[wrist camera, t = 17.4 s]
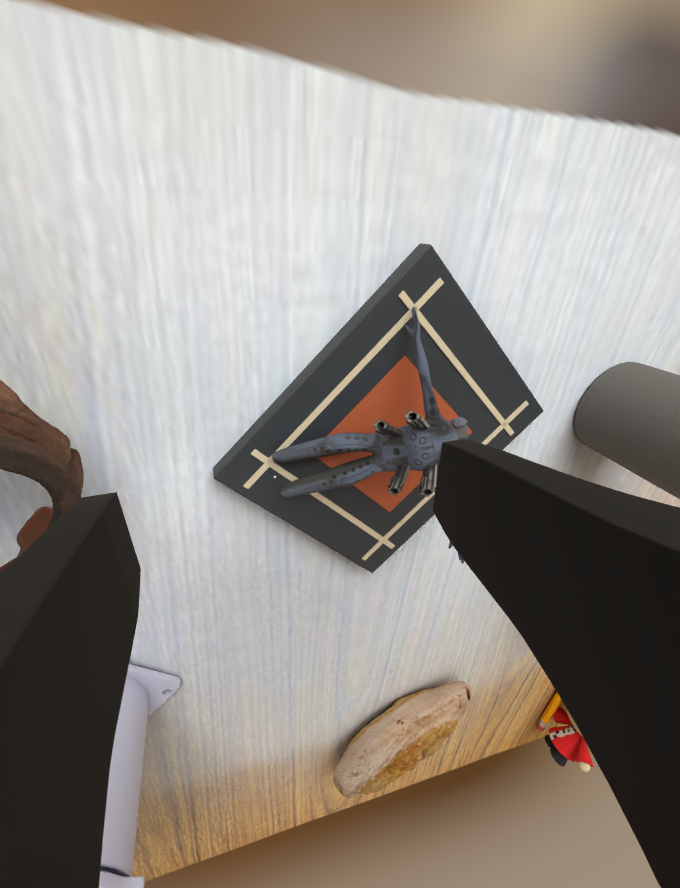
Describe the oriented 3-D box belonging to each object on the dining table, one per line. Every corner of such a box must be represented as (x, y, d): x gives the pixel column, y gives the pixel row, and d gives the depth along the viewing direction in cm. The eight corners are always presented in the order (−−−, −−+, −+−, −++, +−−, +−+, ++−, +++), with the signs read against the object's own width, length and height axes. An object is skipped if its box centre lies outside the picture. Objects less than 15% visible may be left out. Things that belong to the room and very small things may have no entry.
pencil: (535, 725, 47) (539, 731, 46) (602, 614, 39) (608, 620, 38) (540, 723, 47) (544, 729, 47) (608, 612, 39) (614, 618, 39)
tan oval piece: (467, 679, 37) (496, 729, 33) (340, 764, 37) (356, 823, 34) (446, 656, 34) (476, 708, 31) (310, 749, 35) (323, 811, 31)
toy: (515, 708, 47) (607, 622, 42) (561, 725, 48) (654, 644, 44) (547, 780, 40) (661, 687, 35) (599, 797, 42) (714, 710, 37)
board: (366, 562, 26) (373, 574, 25) (212, 467, 20) (213, 479, 19) (532, 404, 24) (545, 411, 23) (420, 242, 18) (432, 243, 17)
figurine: (298, 622, 17) (309, 567, 22) (522, 578, 17) (481, 532, 22) (225, 341, 16) (255, 352, 21) (472, 283, 15) (440, 308, 20)
